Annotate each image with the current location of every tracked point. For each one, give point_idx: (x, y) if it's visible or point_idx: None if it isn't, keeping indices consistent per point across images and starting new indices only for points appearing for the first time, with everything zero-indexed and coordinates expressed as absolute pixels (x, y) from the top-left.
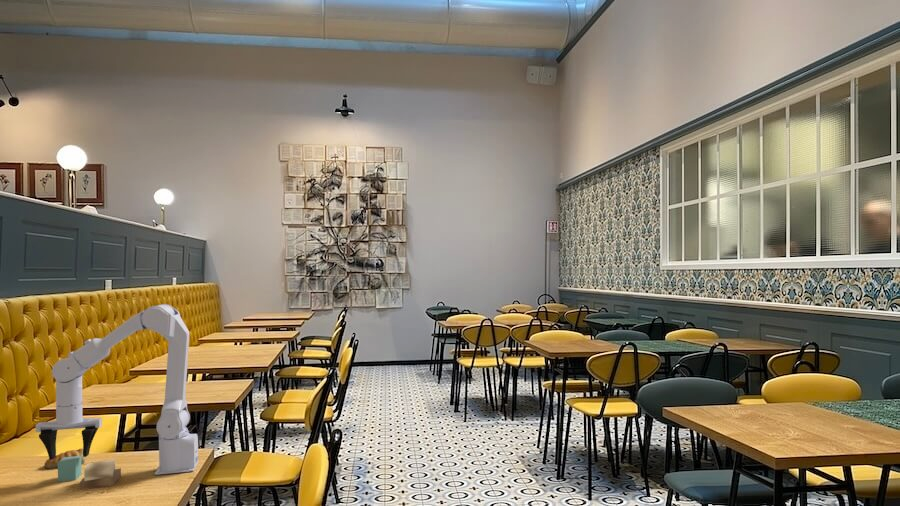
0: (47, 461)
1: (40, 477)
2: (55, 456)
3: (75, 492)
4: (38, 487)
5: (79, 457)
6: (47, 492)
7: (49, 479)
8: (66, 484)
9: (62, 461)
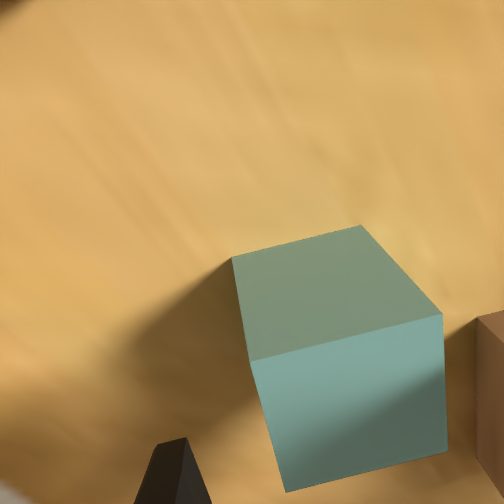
0: None
1: (23, 271)
2: (186, 446)
3: (466, 491)
4: None
5: (444, 364)
6: (304, 498)
7: (149, 315)
8: None
9: (321, 473)
